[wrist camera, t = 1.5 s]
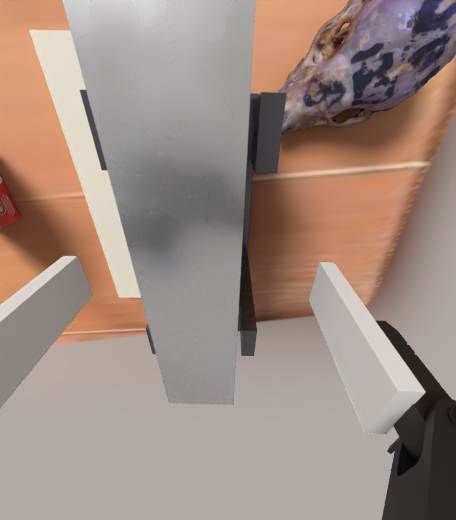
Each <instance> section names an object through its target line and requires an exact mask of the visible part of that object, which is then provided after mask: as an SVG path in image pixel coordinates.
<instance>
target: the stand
mask: <svg viewBox="0 0 456 520" xmlns="http://www.w3.org/2000/svg"><path fill="white" fill-rule="evenodd" d="M80 94H81V97H82V101H83V104H84V108H85V112H86V115H87V119H88V122H89V126H90V130H91V133H92V137H93V140H94V144H95V148H96V151H97V155H98V158H99V162H100V166H101V169H102V170H107V167H106V163H105V159H104V155H103V152H102V148H101V144H100V140H99V136H98V133H97V129H96V125H95V121H94V118H93V114H92V110H91V106H90V102H89V99H88V95H87V91H86V90H80ZM286 95H287V93H268V92H261V93H260V94H259V95H258V94H250V110H249V128H248V147H247V165H246V184H245V202H244V220H243V239H242V257H241V276H240V294H239V312H238V331H240V333H241V355H242V356H254V350H255V342H256V334H257V328H256V319H255V311H254V303H253V295H252V287H251V279H250V270H249V262H248V254H247V247H248V233H249V218H250V204H251V190H252V175H253V169H254V171H255V173H277V167H278V159H279V151H280V143H281V135H282V127H283V119H284V111H285V103H286ZM146 331H147V335H148V339H149V342H150V346H151V349H152V353H153V354H156V352H155V348H154V344H153V341H152V337H151V333H150V329H149V325H147V327H146Z"/></svg>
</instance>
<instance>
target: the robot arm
mask: <svg viewBox="0 0 456 520" xmlns="http://www.w3.org/2000/svg"><path fill="white" fill-rule="evenodd" d="M92 296H93V293H92V291H91V288H90V286H89V283H88V281H87V279H86V276H85V274H84V271H83V269H82V266H81V264H80V262H79V259H78V257H77V256H63V257H61V258H60V259H59V260H57V261H56V262H55V263H54V264H52V265H51V266H50V267H48V268H47V269H46V270H45V271H43V272H42V273H41V274H39V275H38V276H37V277H36V278H34V279H33V280H32V281H31V282H29V283H28V284H27V285H25V286H24V287H23V288H22V289H20V290H19V291H18V292H16V293H15V294H14V295H13V296H11V297H10V298H9V299H7V300H6V301H5V302H4V303H2V304H1V305H0V408H1V407H2V405H3V404H4V403H5V402H6V401H7V399H8V398H9V397H10V396H11V395H12V393H13V392H14V391H15V389H16V388H17V387H18V386H19V385H20V384H21V382H22V381H23V380H24V379H25V377H26V376H27V375H28V374H29V372H30V371H31V370H32V369H33V368H34V366H35V365H36V364H37V363H38V362H39V360H40V359H41V358H42V357H43V355H44V354H45V353H46V352H47V350H48V349H49V348H50V347H51V346H52V344H53V343H54V342H55V341H56V340H57V338H58V337H59V336H60V335H61V333H62V332H63V331H64V330H65V329H66V327H67V326H68V325H69V324H70V323H71V321H72V320H73V319H74V318H75V316H76V315H77V314H78V313H79V312H80V310H81V309H82V308H83V307H84V305H85V304H86V303H87V302H88V301H89V299H90V298H91V297H92ZM309 302H310V305H311V307H312V310H313V312H314V314H315V317H316V319H317V321H318V324H319V326H320V329H321V331H322V334H323V336H324V338H325V341H326V343H327V346H328V348H329V350H330V353H331V355H332V358H333V360H334V362H335V365H336V367H337V370H338V372H339V374H340V377H341V379H342V382H343V384H344V386H345V389H346V391H347V394H348V396H349V398H350V401H351V403H352V406H353V408H354V410H355V413H356V415H357V418H358V420H359V422H360V425H361V427H362V429H363V432H364V433H381V434H386V433H387V432H388V431H389V430H390V429H391V428H392V427H393V426H394V427H395V429H396V431H397V433H398V435H399V438H398V439H397V440H396V441H395V442H394V443H393V444H392V445H391V446H390V447H389V449H388V451H387V452H389V453H390V454H391V453H393V452H394V451H395V453H394V458H393V463H392V469H391V474H390V479H389V485H388V490H387V495H386V500H385V506H384V511H383V517H382V520H456V401H455V400H452V399H451V398H450V397H449V395H448V394H447V393H446V392H445V391H444V389H443V388H442V387H441V386H440V384H439V383H438V382H437V380H436V379H435V378H434V376H433V375H432V374H431V373H430V371H429V370H428V369H427V368H426V366H425V365H424V364H423V363H422V361H421V360H420V359H419V357H418V356H417V355H415V353H414V351H413V350H412V348H411V347H410V346H409V345H407V342H406V341H405V339H404V338H403V337H402V336H401V335H400V333H399V332H398V331H397V330H396V329H395V328H393V327H392V326H391V325H389V324H388V323H387V322H386V321H375V320H374V318H373V317H372V315H371V314H370V313H369V311H368V310H367V308H366V307H365V306H364V304H363V303H362V301H361V300H360V299H359V297H358V296H357V294H356V293H355V291H354V290H353V289H352V287H351V286H350V284H349V283H348V282H347V280H346V279H345V277H344V276H343V275H342V273H341V272H340V270H339V269H338V267H337V266H336V265H335V263H331V262H320V263H319V266H318V270H317V273H316V277H315V280H314V284H313V287H312V291H311V295H310V298H309Z"/></svg>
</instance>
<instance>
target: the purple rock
mask: <svg viewBox="0 0 456 520" xmlns="http://www.w3.org/2000/svg"><path fill="white" fill-rule="evenodd" d="M345 23H350V24H349V26H348V27H345V28H344V29H342V30H341V27H342V26H343V25H344V24H345ZM340 30H341V31H340ZM343 40H344V42H343V44H342V43H341V42H342V41H343ZM455 55H456V0H349V1H348V3H347V5H346V6H345V8H344V9H343V10H342V11H341V12H340V13H338V14H337V15H336V16H335V17H333V18H332V19H331V20H329V21H328V22H326V23H325V24H324V25H323V26H322V27H321V28H320V29H319V31H318V33H317V34H316V36H315V38H314V40H313V42H312V45H311V48H310V50H309V52H308V54H307V55H306V57H305V58H304V59H303V58H302V59H301V61H300V62H299V64H298V65H297V67H296V68H295V70H294V71H292V72H291V73H290V74H289V76H288V78H287V80H286V82H285V85H284V87H283V88H282V89H280V90H278V91H276V92H275V93H287V95H286V103H285V111H284V119H283V127H282V133H284V132H294V131H297V130H300V129H306V128H310V127H313V126H320V125H323V124H324V125H329V126H332V127H344V126H349V125H352V124H355V123H360V122H364V121H366V120H368V119H369V118H370V117H371V116H372V115H373V113H374V112H379V111H386V110H390V109H392V108H393V107H395V106H396V105H397V104H399V103H400V102H402V101H403V100H404V99H406V98H408V97H411V96H412V95H414V94H416V93H417V92H418V91H419V90H420V89H421V88H422V87H423V86H424V85H425V84H426V83H427V82H428V80H429V79H430V78H432V77H433V76H435V75H436V74H437V73H438V72H439V71H440V70H441V69H442V68H443V67H444V66H445V65H446V64H448V63H449V62H450V61H451V60H452V59H453V58H454V56H455ZM349 108H361V111H360V112H359V113H358V114H357V115H355V116H354V117H350V118H348V119H344V120H343V121H336V120H335V119H334V116H336V115H338V114H339V113H340V112H342V111H343V110H346V109H349Z"/></svg>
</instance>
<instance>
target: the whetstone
mask: <svg viewBox="0 0 456 520" xmlns="http://www.w3.org/2000/svg"><path fill="white" fill-rule="evenodd" d="M63 4H64V8H65V12H66V15H67V19H68V23H69V27H70V31H71V34H72V38H73V42H74V46H75V49H76V53H77V57H78V61H79V65H80V68H81V72H82V76H83V80H84V83H85V87H86V91H87V95H88V99H89V102H90V106H91V110H92V114H93V118H94V121H95V125H96V129H97V133H98V136H99V140H100V144H101V148H102V152H103V155H104V159H105V163H106V167H107V170H108V174H109V178H110V182H111V186H112V189H113V193H114V197H115V201H116V204H117V208H118V212H119V216H120V220H121V223H122V227H123V231H124V235H125V238H126V242H127V246H128V250H129V254H130V257H131V261H132V265H133V269H134V272H135V276H136V280H137V284H138V288H139V291H140V295H141V299H142V303H143V307H144V310H145V314H146V318H147V322H148V325H149V329H150V333H151V337H152V341H153V344H154V348H155V352H156V356H157V359H158V363H159V367H160V371H161V375H162V378H163V382H164V386H165V390H166V393H167V397H168V401H169V403H188V404H234V386H235V368H236V349H237V331H238V312H239V294H240V276H241V257H242V239H243V220H244V202H245V184H246V165H247V147H248V128H249V110H250V92H251V73H252V55H253V36H254V18H255V0H63Z"/></svg>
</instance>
